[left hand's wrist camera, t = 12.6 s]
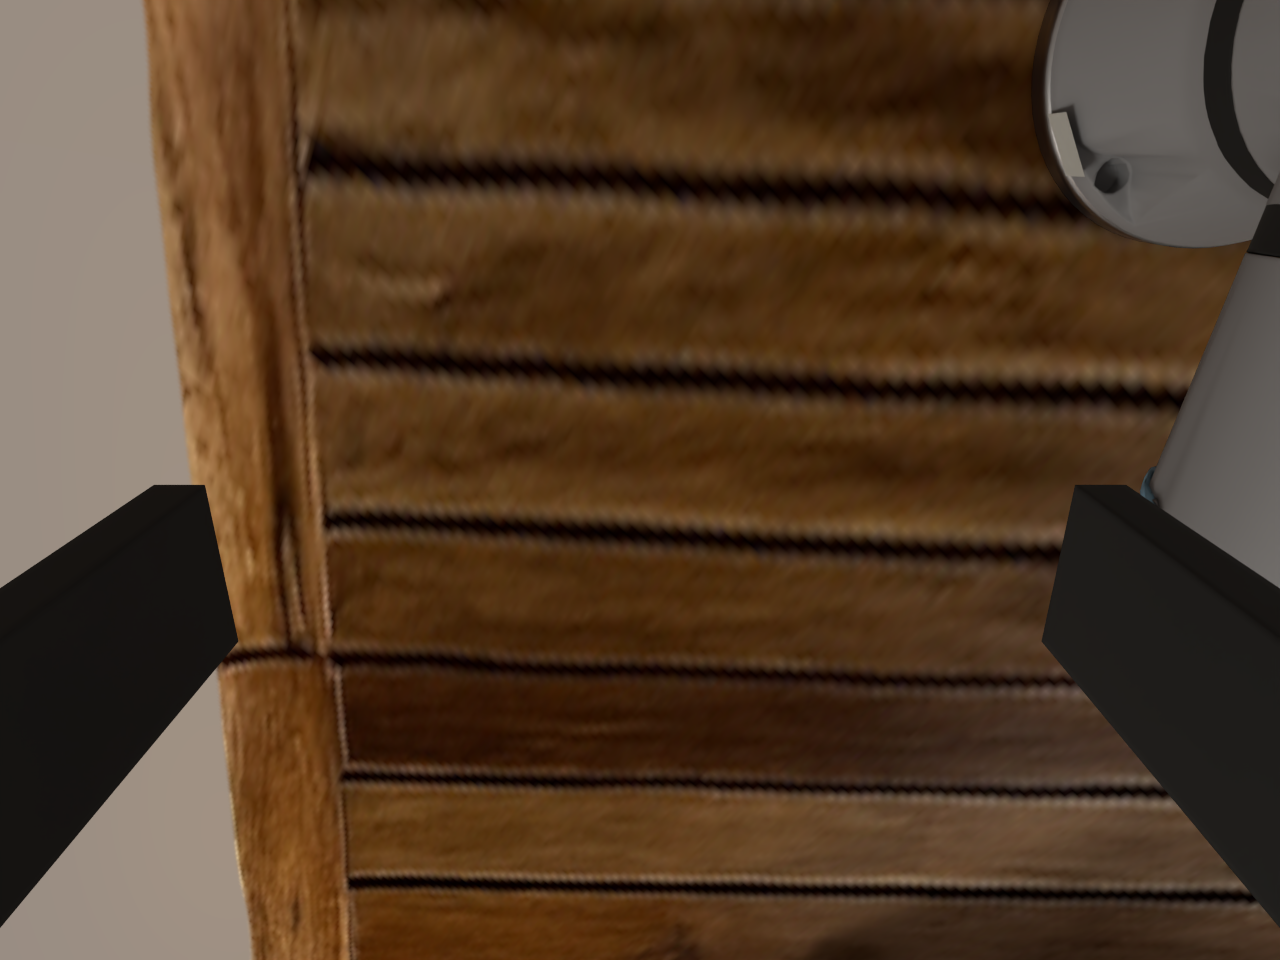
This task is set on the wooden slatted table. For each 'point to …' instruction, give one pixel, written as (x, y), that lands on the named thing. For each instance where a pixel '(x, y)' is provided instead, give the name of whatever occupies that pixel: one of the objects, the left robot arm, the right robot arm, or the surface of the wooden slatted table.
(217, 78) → the wooden slatted table surface
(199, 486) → the left robot arm
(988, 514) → the wooden slatted table surface
